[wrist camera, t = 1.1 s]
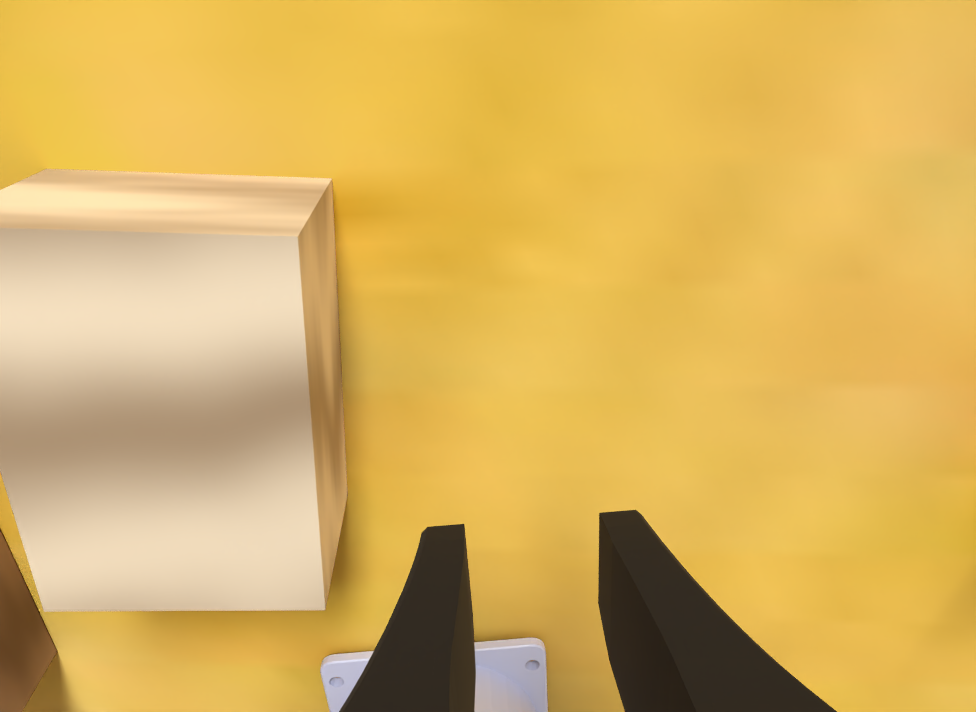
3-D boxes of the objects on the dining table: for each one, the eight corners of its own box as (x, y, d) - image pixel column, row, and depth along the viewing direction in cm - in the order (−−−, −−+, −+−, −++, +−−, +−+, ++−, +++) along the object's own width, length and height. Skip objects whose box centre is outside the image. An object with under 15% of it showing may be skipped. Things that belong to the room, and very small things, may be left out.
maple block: (348, 490, 23) (325, 610, 19) (122, 488, 23) (43, 611, 18) (333, 176, 19) (297, 236, 14) (50, 167, 18) (-77, 225, 14)
